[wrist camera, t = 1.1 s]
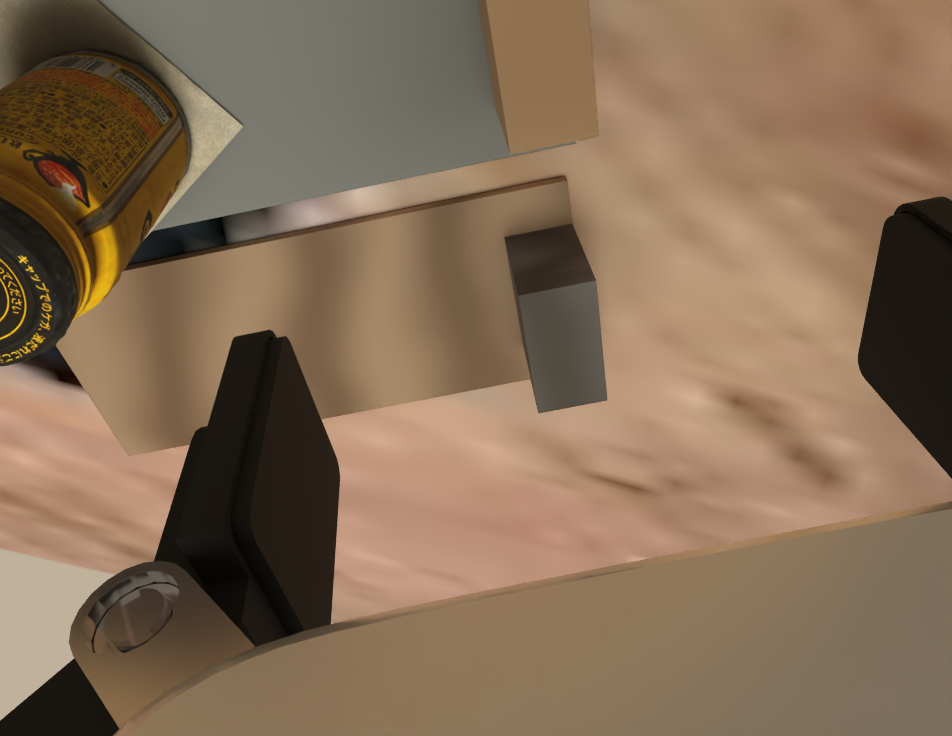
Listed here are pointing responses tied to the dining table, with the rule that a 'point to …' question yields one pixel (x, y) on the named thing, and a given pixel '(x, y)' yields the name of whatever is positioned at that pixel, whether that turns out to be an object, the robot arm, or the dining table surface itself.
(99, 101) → the condiment
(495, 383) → the strip empty
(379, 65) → the strip
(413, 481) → the dining table surface
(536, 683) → the robot arm
